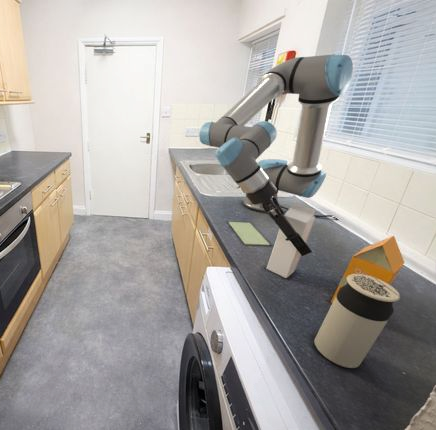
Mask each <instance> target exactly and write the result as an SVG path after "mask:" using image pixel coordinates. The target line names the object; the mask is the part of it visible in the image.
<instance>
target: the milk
mask: <svg viewBox="0 0 436 430" xmlns="http://www.w3.org/2000/svg"><path fill="white" fill-rule="evenodd" d="M288 209H289V210H286V211H285V215H284V216H285V217H286V219H287V220H288V222H289V223H290V224H291V226H292V227H293V228H294V230H295V231H296V233H298V234H299V235H300V236H301V238H302V239H303V240H304V242H305V243H306V244H307V241H308V238H309V236H310V233H311V230H312V227H313V225H314V223H315V220H316V217H315V216H314V215H315V212H316V210H315V209H314V208H311V207H308V206H305V205H301V204H297V203H294V202H292V203H291V204H290V207H288ZM286 238H287V237H286V236H285V235H284V233H283V232H282V231H281V229H280V228H279V229H278V232H277V236H276V239H275V242H274V244H273V246H272V247H273V248H272V250H271V253H270V256H269V260H268V262H267V266H266V270H268V271H270V272H272V273H274V274H276V275H278V276H280V277H282V278H285V279H287V278H289V277H290V276H291V275H292V274H293V273H294V272H295V271H296V268H297V266H298V263H299V261H300V258H301V257H302V256H301V254H300V253H299V252H298V250H297V249H296V248H295V247H294V245H293V244H292V243H291V241H289V240H288V241H286V240H285V239H286Z"/></svg>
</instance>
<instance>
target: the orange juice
mask: <svg viewBox="0 0 436 430" xmlns="http://www.w3.org/2000/svg"><path fill="white" fill-rule="evenodd" d="M351 257H352V258H351V259H350V261H349V264H348V266H347V267H346V270H345V272H344V274H343V276H342V277H341V279H340V281H339V283H338V285H337V288H336V290H335V292H334V295H333V297H332V299H331V301H330V303H331V304H332V303H333V301H334V299H335V297H336V295H337V293H338V291H339V289H340V288H341V287H342V286H344V285H346V284H347V277H348V276H349V275H351V274H362V275H367V276H371V277H374V278H377V279H379V280H381V281H383V282H385V283H387V284H389V285H390V286H392V284H393V283H394V281H395V279H396V277H397V276H398V275H399V272H400V270H401V269H402V267H403V266H404V264H405V260H404V257H403V255H402V253H401V250H400V248H399V245H398V242H397V239H396V237H395V235H392V236H390V237H389V236H388V237H387V238H385V239H382V240H380V241H377V242H374V243H372V244H370V245H367V246H365V247H363V248H362V249H361V250H359V251H358V252H357V253H355V254H354V255H353V256H351Z"/></svg>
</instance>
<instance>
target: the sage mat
mask: <svg viewBox="0 0 436 430" xmlns="http://www.w3.org/2000/svg"><path fill="white" fill-rule="evenodd" d="M228 224H229V225H230V226H231V228H232V229H233V231H234V232H235V233H236V234H237V236H238V237H239V238H240V240H241V241H242V243H243V244H244V245H247V246H266V247H267V246H268V247H269V246H271V244H270V243H269V242H268V241H267V239H266V238H265V237H264V236H263V235H262V234H261V233H260V231H258V229H257V228H256V227H254V226H253V224H252V223H251V222H244V221H243V222H242V221H228Z"/></svg>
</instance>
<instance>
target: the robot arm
mask: <svg viewBox="0 0 436 430" xmlns="http://www.w3.org/2000/svg"><path fill="white" fill-rule="evenodd" d="M353 69H354V66H353V60H352V58H351V57H350V55H347V54H333V53H332V54H324V55H323V54H322V55H312V56H298V57H293V58H290V59H288V60H286V61H283V62H280V63H279V64H277V65H275V66H274V67H272V68H271V69H269V70H268V71H267V72H265V73H264V74H263V75H262V76H261V77H260V78H259V79H258V81H257V83H256V85H255V86H254V87H253V88H252V89H251V90H249V91H248V93H246V94H245V95H244V96H243V97H242V98H241V99H240V100H239V101H238V102H236V103H235V104H234V105H233V106H232V107H231V108H230V109H228V110H227V111H226V112H225V113H224V114H223V115H222V116H221V117H220V118H219V119H217V120H216V122H215V121H208V122H204V123H203V124H202V125H201V127H200V130H199V133H198V138H199V142H200V143H201V144H202V145H205V146H208V147H213V148H217V149H216V151H215V153H214V156H215V157H216V159H217V161H218V162H219V164H220V166H221V167H222V168H223V169H224V170H225V172H226V173H227V174H228V175H229V177H231V179H232V180H233V181H234V182H235V183H236V189H240V190H241V191H242V192H243V194H245V197H244V199H243V201H242V205H243V206H244V207H245V208H248V209H249V210H252V211H255V212H260V213H267V214H268V215H269V217H270V218H271V219H272V220H273V222H274V223H275V224H276V225H277V227H278V228H279V229H281V231H282V232H283V233H284V235H285V236H286V237H287V238H286V239H285V240H286V241H288V240H289V241H291V243H292V244H293V245H294V247H295V248H296V249H297V250H298V252H299V253H300V254H301V256H300V257H304V256H306V255H309V254H311V253H313V251H312V249H311V248H310V247H309V245H308V244H307V242H306V243H305V242H304V240H303V239H302V238H301V236H300V235H299V234H298V233H296V231H295V230H294V228H293V227H292V226H291V224H290V223H289V222H288V220H287V219H286V217H285V216H284V215H285V213H286V211H288V210H289V207H286V206H283V205H281V204H280V202H279V199H278V198H279V197H278V193H279V192H283V193H288V194H290V195H295V196H298V197H302V198H307V199H310V198H312V197H314V196H315V195H316V194H317V193H318V191H319V190H320V188H321V187H322V185H323V183H324V181H325V179H326V178H327V177H326V176H327V173H326V172H325V171H322V168H323V166H322V164H321V163H319V161H320V157H321V152H322V147H323V144H324V139H325V136H326V135H325V134H326V131H327V126H328V122H329V118H330V113H331V109H332V105H333V104H334V103H335V102H336V101H338V100H339V98H340V96H343V95H344V94H345V93H346V92H347V90H348V89H349V86H350V83H351V81H352V76H353V71H354V70H353ZM287 94H289V95H290V94H292V95H298V100H297V101H298V103H299V104H300V105H301V110H300V117H299V123H298V128H297V134H296V140H295V146H294V152H293V158H292V161H291V162H289V163H288V161H287V160H284V159H280V158H279V159H277V158H269V159H267V158H266V159H261V160H259V161H258V162H257V159H258V158H259V157H260V156H261V155H262V154H264V152H265V151H266V150H267V149H269V148H270V146H271V145H272V144H273V143H274V141H275V140H276V139H277V135H278V133H277V128H276V127H275V125H274V124H272V123H271V122H269V121H268V120H267V121H266V120H262V121H261V120H260V121H258V122H256V123H254V124H253V125H252V126H247V124H248V123H249V122H250V121H251V120H253V118H255V116H256V115H257V114H259V113H260V112H261V111H262V110H263V109H264V108H265V107H266V106H267V105H268V104H269V103H270V102H271V101H272V100H276V99H278V98H279V97H280V96H282V95H287ZM285 210H286V211H285ZM314 216H315V218H332V219H335V220H336V221H339V218H338V217H337V218H338V219H337V218H335V217H336V216H335V217H332V216H333V215H331V214H326V215H325V214H323V215H319V214H314Z"/></svg>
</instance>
